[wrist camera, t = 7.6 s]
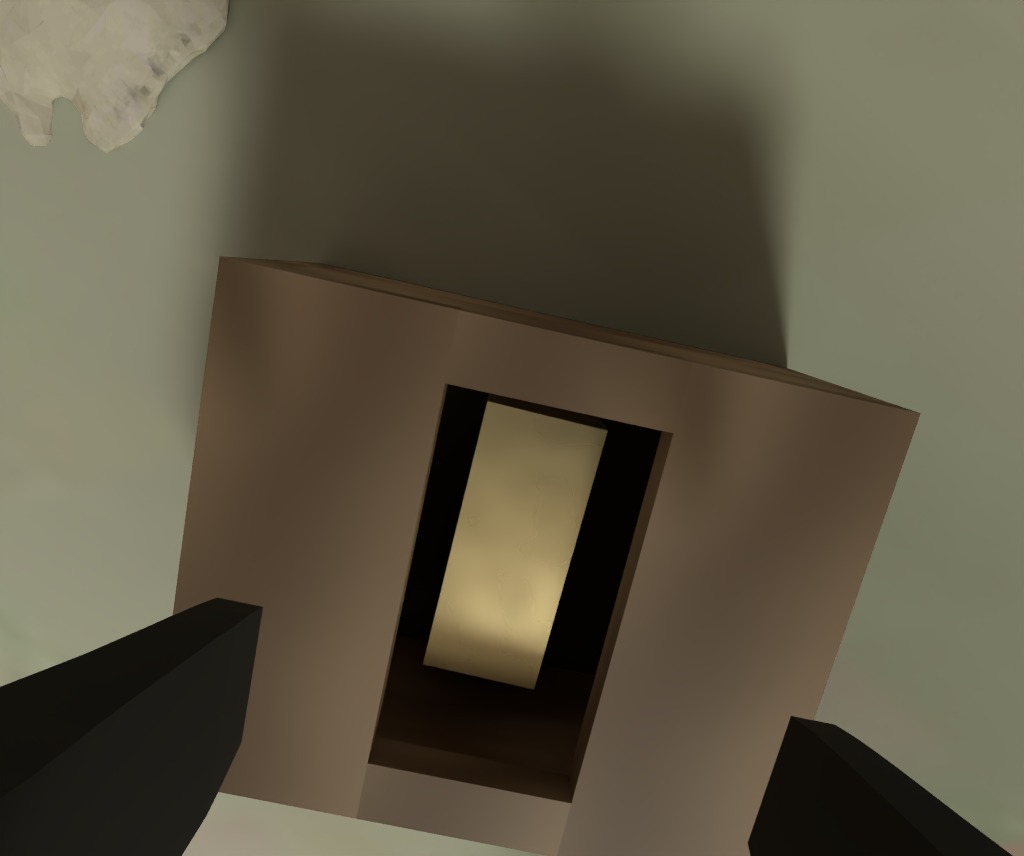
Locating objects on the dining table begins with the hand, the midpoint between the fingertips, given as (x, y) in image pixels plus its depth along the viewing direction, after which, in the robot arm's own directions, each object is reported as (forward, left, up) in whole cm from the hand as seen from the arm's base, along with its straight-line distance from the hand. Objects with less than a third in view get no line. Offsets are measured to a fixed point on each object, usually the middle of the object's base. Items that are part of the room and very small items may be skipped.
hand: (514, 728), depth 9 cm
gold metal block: (0, 0, -10) cm, 10 cm away
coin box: (0, 0, -10) cm, 10 cm away
